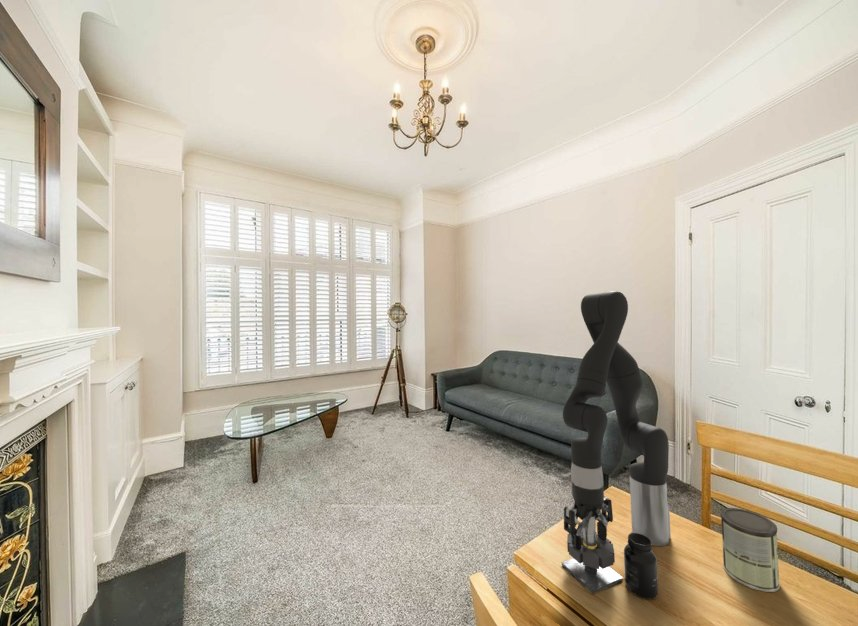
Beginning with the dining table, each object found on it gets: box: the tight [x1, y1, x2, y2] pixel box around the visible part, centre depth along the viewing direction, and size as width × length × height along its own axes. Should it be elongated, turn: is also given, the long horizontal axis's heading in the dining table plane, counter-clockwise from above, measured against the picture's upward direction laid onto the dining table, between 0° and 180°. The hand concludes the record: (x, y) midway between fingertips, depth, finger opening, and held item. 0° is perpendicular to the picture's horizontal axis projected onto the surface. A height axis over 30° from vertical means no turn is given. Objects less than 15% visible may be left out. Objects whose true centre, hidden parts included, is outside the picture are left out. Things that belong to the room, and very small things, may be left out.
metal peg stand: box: [561, 516, 624, 595], centre depth 86 cm, size 10×10×15 cm
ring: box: [566, 529, 616, 569], centre depth 86 cm, size 11×11×2 cm
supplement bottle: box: [623, 532, 659, 600], centre depth 81 cm, size 7×7×12 cm
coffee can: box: [719, 507, 781, 593], centre depth 83 cm, size 10×10×14 cm
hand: (589, 543), depth 86 cm, fingers open, 8 cm apart
